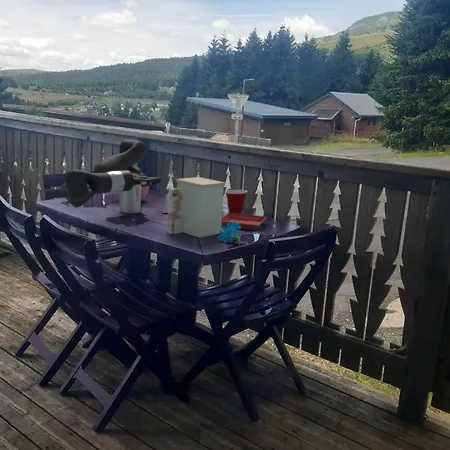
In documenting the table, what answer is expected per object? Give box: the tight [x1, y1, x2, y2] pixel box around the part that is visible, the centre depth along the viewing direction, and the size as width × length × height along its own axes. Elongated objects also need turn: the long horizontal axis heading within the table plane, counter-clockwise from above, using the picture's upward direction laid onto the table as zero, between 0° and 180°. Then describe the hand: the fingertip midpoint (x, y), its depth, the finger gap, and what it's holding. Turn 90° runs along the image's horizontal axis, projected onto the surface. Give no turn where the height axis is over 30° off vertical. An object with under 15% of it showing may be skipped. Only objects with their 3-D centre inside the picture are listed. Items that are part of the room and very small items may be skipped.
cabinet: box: [173, 176, 226, 238], centre depth 216 cm, size 17×15×21 cm
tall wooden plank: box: [167, 187, 183, 235], centre depth 214 cm, size 6×3×18 cm, turn 136°
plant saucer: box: [221, 212, 267, 231], centre depth 237 cm, size 18×18×3 cm
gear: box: [217, 222, 243, 244], centre depth 208 cm, size 11×6×10 cm
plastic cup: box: [224, 189, 248, 214], centre depth 254 cm, size 11×11×12 cm
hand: (153, 178), depth 203 cm, fingers open, 8 cm apart
